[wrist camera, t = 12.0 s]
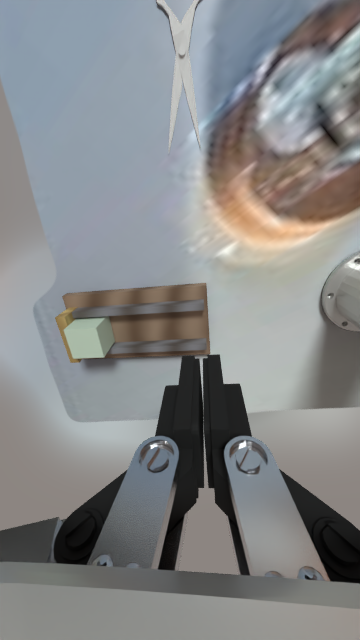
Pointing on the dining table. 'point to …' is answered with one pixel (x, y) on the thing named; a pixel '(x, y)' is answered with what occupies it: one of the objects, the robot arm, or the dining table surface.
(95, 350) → the pale green cube
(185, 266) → the dining table surface
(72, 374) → the dining table surface
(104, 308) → the track
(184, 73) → the scissors
